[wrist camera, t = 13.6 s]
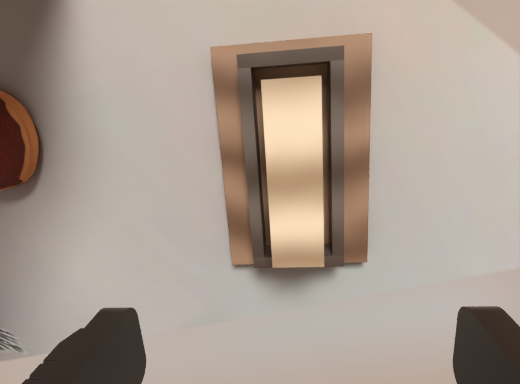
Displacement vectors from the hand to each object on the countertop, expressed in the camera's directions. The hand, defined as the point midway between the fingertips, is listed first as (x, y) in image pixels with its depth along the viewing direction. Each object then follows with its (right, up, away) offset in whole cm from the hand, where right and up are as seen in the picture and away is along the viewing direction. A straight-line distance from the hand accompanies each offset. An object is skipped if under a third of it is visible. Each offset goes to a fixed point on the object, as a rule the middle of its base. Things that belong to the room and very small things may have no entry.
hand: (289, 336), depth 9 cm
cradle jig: (+2, +7, +23) cm, 24 cm away
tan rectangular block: (+2, +6, +21) cm, 23 cm away
